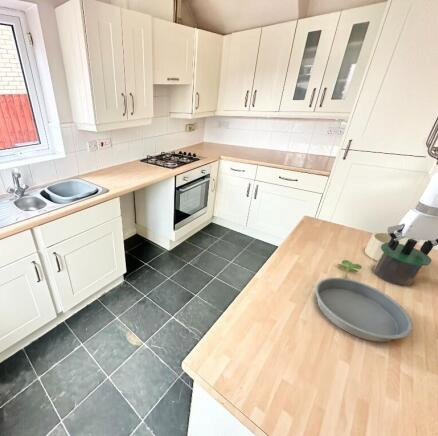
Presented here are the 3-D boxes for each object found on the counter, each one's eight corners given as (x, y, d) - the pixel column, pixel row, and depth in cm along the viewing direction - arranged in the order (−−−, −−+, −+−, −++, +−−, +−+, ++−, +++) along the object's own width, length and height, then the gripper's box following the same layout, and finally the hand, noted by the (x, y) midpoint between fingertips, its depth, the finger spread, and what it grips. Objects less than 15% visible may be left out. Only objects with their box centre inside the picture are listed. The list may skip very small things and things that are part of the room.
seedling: (340, 283, 99) (345, 270, 101) (362, 285, 91) (366, 270, 93) (328, 273, 98) (333, 260, 100) (349, 274, 91) (354, 259, 93)
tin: (392, 250, 110) (401, 234, 106) (409, 267, 99) (420, 250, 95) (359, 245, 113) (367, 230, 109) (372, 262, 103) (381, 245, 99)
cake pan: (404, 365, 65) (413, 355, 63) (303, 314, 80) (307, 304, 78) (406, 311, 81) (413, 301, 78) (320, 276, 96) (324, 267, 94)
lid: (415, 247, 95) (424, 233, 91) (440, 270, 83) (451, 254, 80) (373, 242, 98) (380, 228, 95) (391, 263, 87) (400, 248, 84)
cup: (400, 269, 99) (413, 249, 94) (418, 288, 89) (432, 267, 85) (368, 264, 102) (378, 244, 97) (381, 282, 92) (394, 261, 88)
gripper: (456, 207, 82) (429, 248, 90) (394, 201, 87) (373, 241, 95) (475, 217, 76) (444, 260, 84) (406, 210, 81) (383, 252, 89)
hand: (407, 250), depth 90 cm, fingers open, 9 cm apart
